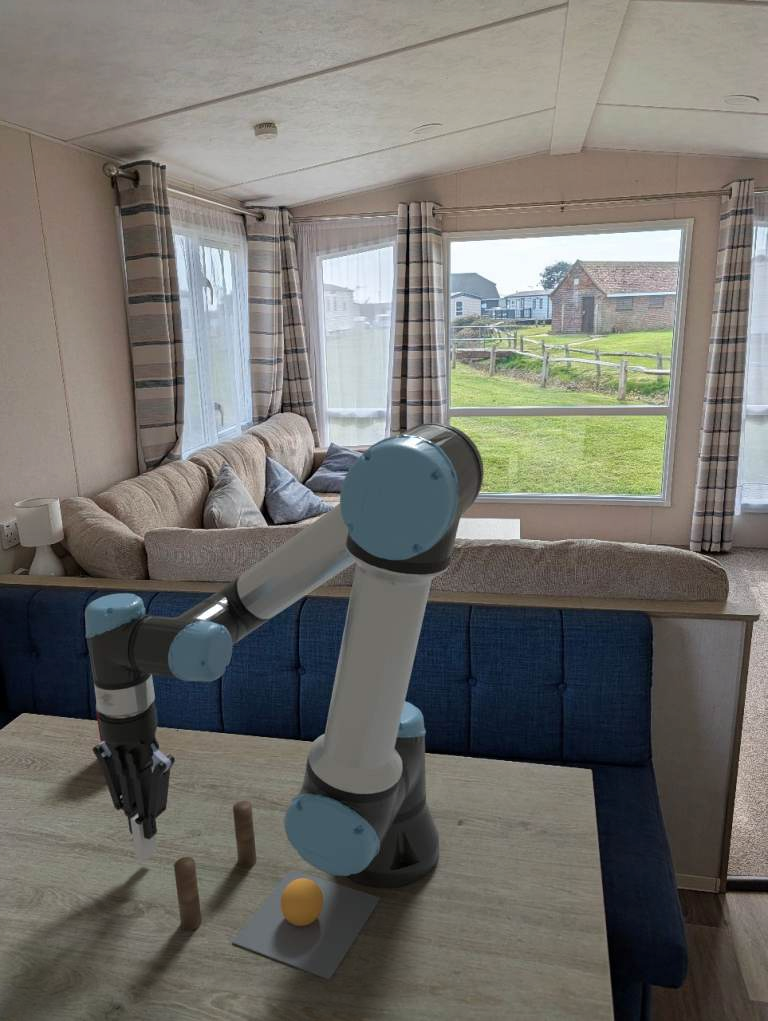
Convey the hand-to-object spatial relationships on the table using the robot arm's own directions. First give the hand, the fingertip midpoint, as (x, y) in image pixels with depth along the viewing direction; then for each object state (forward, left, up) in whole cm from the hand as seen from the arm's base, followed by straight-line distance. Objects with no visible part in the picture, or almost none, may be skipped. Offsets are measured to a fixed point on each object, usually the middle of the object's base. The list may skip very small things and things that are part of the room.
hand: (146, 853), depth 109 cm
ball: (-26, 0, +1) cm, 26 cm away
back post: (-13, -6, -2) cm, 15 cm away
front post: (-13, +6, -2) cm, 15 cm away
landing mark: (-27, 0, -2) cm, 27 cm away
